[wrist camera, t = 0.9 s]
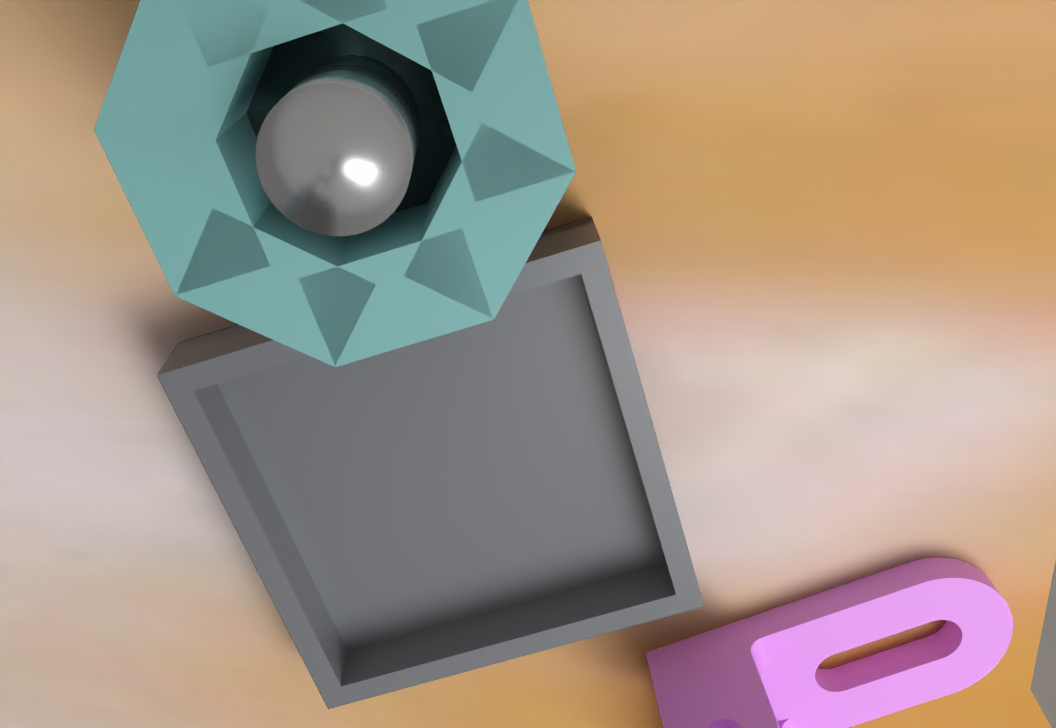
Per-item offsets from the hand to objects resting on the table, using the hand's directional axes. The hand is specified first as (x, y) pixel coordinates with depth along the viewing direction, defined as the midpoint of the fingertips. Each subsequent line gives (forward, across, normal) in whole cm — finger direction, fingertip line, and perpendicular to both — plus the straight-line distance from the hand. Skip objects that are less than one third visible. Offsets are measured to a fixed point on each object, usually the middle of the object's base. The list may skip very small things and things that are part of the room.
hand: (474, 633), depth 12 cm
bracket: (+20, -10, +21) cm, 30 cm away
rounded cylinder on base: (+20, +4, -2) cm, 21 cm away
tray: (+19, +3, +11) cm, 22 cm away
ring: (+14, +4, -3) cm, 15 cm away
